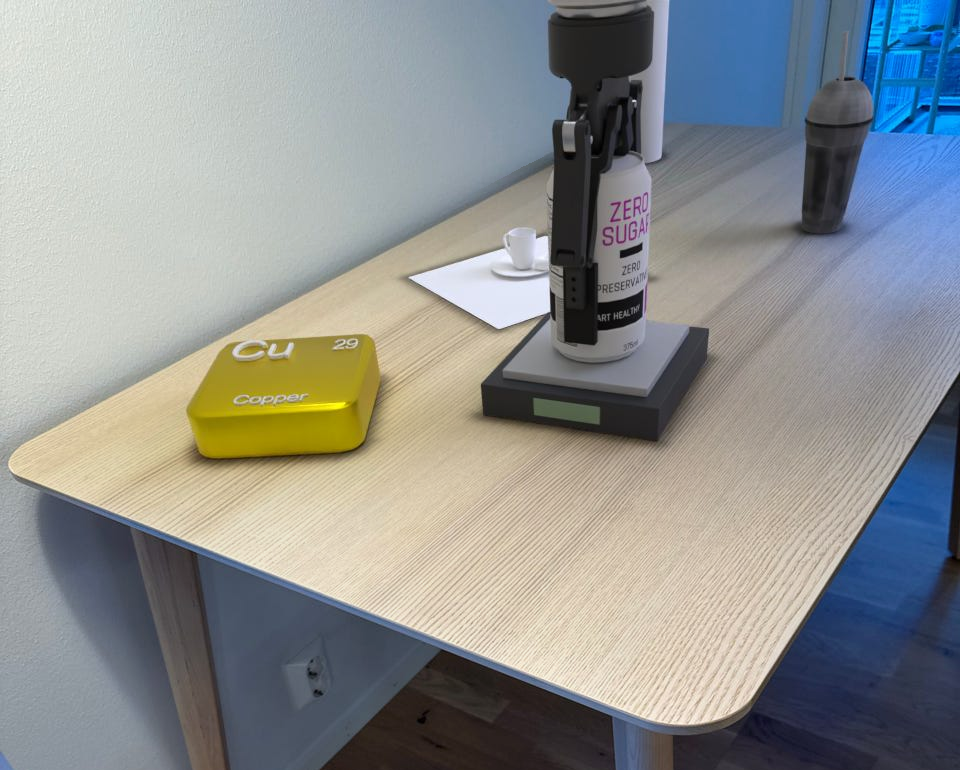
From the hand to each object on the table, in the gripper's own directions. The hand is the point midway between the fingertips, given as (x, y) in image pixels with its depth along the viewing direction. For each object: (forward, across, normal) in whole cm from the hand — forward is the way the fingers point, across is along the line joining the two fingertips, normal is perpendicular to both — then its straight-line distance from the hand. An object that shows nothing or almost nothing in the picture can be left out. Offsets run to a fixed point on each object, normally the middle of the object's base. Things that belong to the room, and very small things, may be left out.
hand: (598, 320), depth 79 cm
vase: (+6, -72, -21) cm, 75 cm away
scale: (+6, 0, 0) cm, 6 cm away
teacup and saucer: (+6, -23, -17) cm, 29 cm away
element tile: (+6, +13, -25) cm, 29 cm away
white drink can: (+2, 0, 0) cm, 2 cm away
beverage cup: (+6, -46, +12) cm, 48 cm away
